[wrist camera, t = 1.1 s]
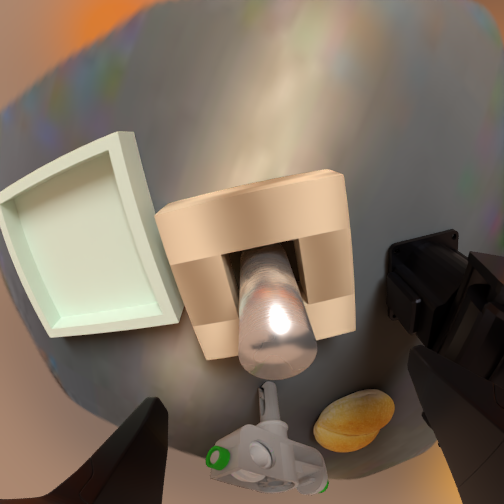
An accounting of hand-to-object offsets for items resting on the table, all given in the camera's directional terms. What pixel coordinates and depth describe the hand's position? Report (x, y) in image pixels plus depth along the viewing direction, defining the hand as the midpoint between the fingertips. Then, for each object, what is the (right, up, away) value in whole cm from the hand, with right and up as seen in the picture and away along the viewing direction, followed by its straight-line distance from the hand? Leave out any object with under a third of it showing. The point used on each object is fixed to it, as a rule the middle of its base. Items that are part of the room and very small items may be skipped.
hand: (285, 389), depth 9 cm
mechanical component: (0, -7, +15) cm, 16 cm away
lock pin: (0, +4, +10) cm, 11 cm away
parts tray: (-13, +5, +9) cm, 17 cm away
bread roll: (+10, -13, +17) cm, 24 cm away
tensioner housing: (0, +4, +10) cm, 11 cm away
